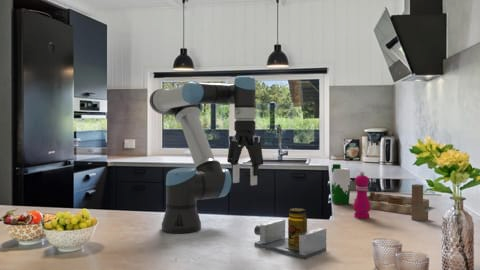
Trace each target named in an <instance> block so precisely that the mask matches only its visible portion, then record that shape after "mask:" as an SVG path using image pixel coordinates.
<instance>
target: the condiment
mask: <svg viewBox="0 0 480 270" xmlns="http://www.w3.org/2000/svg"><path fill="white" fill-rule="evenodd" d="M288 213H289V215H288V216H289V217H288V218H287V225H288V226H287V227H288V228H287V238H288V245H287V246H286V247H284V248H290V249H298V250H299V234H302V233H305V232H308V218H307V215H306V214H307V212H306V208H305V209H304V208H299V207H298V208H297V207H295V208H294V207H293V208H290V209H289V212H288Z"/></svg>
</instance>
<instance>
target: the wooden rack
mask: <svg viewBox="0 0 480 270" xmlns="http://www.w3.org/2000/svg"><path fill="white" fill-rule="evenodd" d="M375 194H376V193H375V192H373V191H371V192H369V195H370V197H371V198H372V200H371V201H373V198H374V197H375ZM387 203H389V204H397V205H404V206H409V205H410V204H403V199H400V198H388V201H387Z"/></svg>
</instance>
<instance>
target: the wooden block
mask: <svg viewBox="0 0 480 270" xmlns="http://www.w3.org/2000/svg"><path fill="white" fill-rule="evenodd" d="M411 197H412V213H411V218H410V219H411V220H413V221H416V222H420V221H427V220H429V211H428V210H425V208H424V209H423V199H424V185H423V184H418V183H416V184H414V183H412V184H411Z"/></svg>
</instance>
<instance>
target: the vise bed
mask: <svg viewBox="0 0 480 270" xmlns="http://www.w3.org/2000/svg"><path fill="white" fill-rule="evenodd" d="M287 245H288V237H286V236H285V237H284V238H281V239H278V240H275V241H272V242H269V243H265V244H264V243H260V240H259V241H255V242H254V247H257V248H260V249H264V250H267V251H271V252H275V253H279V254H283V255H287V256H290V257H294V258H298V259H300V260H307V259H310V258H312V257H315V256H316V255H319V254H322V253H324V252H326V251H327V228H326V227H318V228H315V229H312V230H309V231H308V230H307V232H305V233H302V234H299V250H298V249H290V248H284V247H286V246H287Z"/></svg>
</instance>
